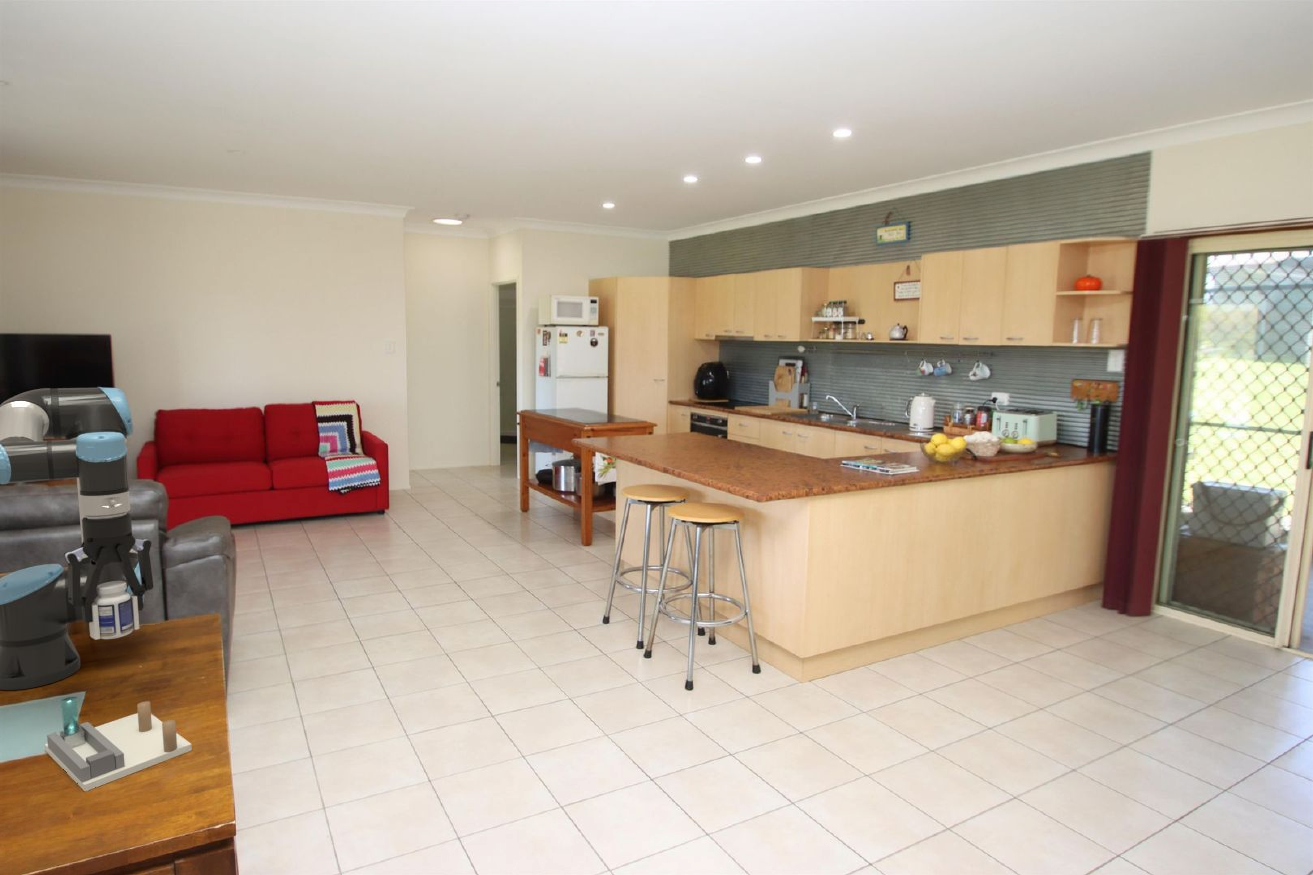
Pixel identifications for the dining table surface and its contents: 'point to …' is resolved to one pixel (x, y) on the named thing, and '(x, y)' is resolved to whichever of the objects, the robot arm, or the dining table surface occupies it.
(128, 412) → the robot arm
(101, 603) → the pill bottle
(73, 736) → the pin
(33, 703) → the dining table surface
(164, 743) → the board
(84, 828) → the dining table surface
